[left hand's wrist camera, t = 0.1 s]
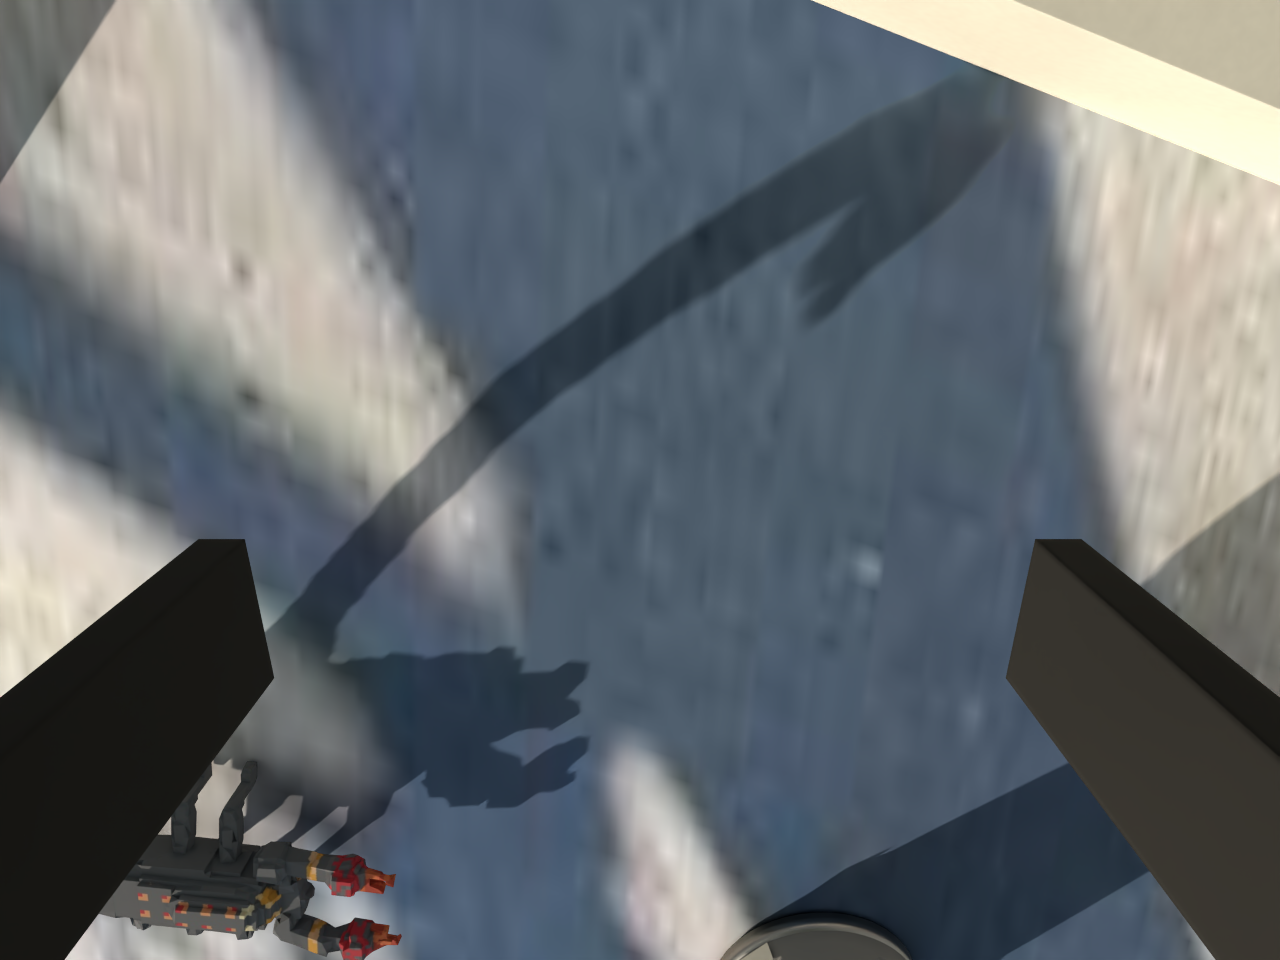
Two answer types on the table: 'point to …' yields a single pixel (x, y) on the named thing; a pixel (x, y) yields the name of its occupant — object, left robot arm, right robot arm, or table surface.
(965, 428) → the table surface
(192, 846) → the toy
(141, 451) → the table surface
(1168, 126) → the board
